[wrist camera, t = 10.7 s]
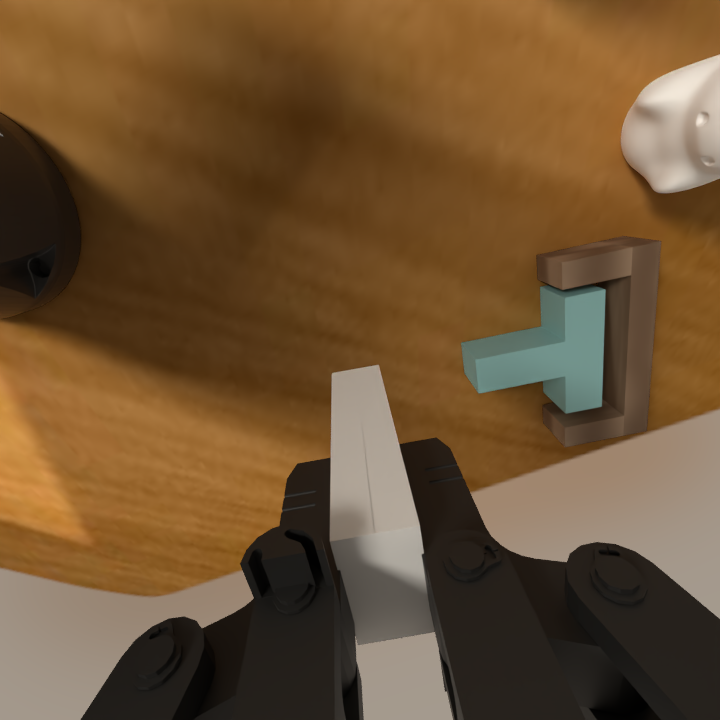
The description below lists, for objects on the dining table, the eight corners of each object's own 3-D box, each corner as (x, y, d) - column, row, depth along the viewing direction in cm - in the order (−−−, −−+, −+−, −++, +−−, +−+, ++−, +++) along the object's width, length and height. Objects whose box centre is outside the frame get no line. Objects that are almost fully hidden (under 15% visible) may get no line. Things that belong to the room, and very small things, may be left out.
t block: (468, 407, 37) (482, 430, 33) (456, 304, 33) (471, 317, 30) (575, 385, 37) (601, 406, 33) (576, 279, 33) (605, 289, 29)
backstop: (543, 423, 38) (564, 447, 34) (536, 255, 32) (561, 262, 28) (616, 408, 38) (646, 431, 34) (624, 236, 32) (661, 241, 28)
